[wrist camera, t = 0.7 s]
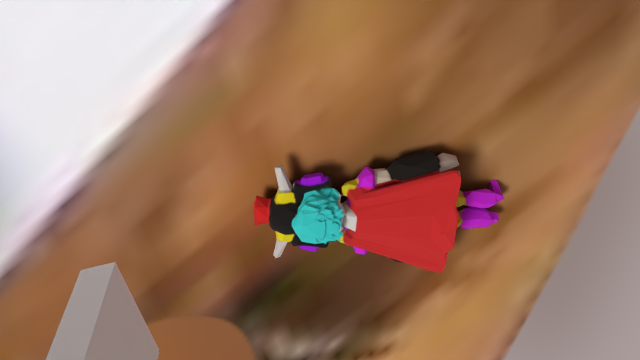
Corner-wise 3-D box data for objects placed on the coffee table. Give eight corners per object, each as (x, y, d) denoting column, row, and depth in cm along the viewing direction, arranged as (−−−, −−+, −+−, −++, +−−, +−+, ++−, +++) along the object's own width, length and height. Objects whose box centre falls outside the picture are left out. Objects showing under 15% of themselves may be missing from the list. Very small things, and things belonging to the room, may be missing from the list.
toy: (506, 143, 36) (254, 141, 35) (532, 174, 33) (254, 174, 31) (482, 247, 40) (254, 249, 38) (504, 285, 37) (253, 289, 35)
